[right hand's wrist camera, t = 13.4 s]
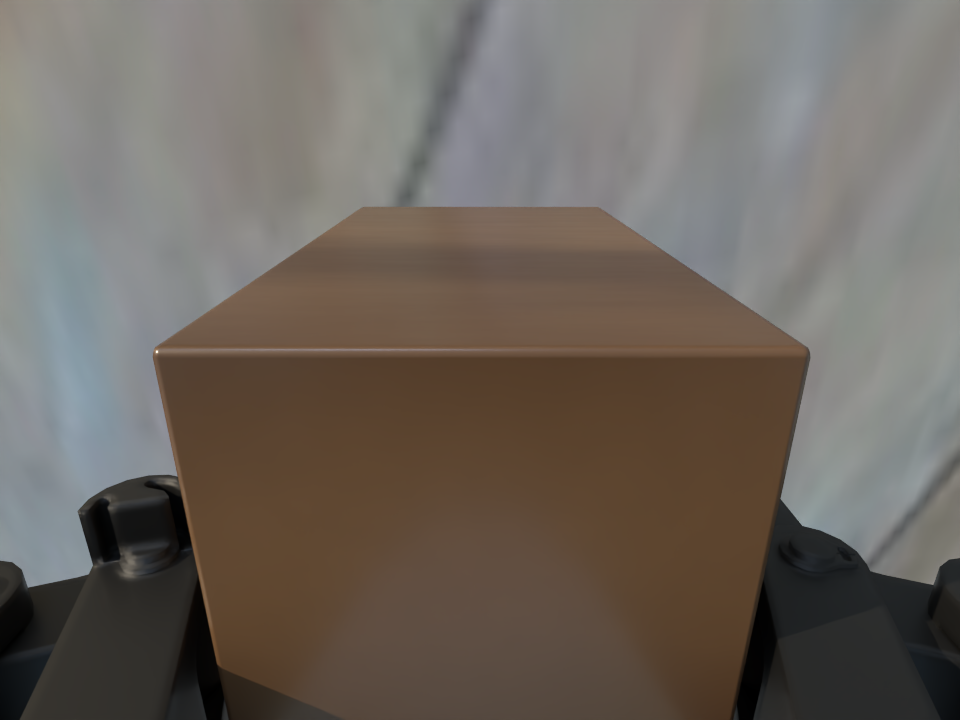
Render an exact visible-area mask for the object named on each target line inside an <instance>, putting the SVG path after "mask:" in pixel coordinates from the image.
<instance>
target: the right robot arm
mask: <svg viewBox="0 0 960 720" xmlns="http://www.w3.org/2000/svg"><path fill="white" fill-rule="evenodd" d="M78 514H79V517H80V521H81V524H82V528H83V531H84V535H85V538H86V542H87V545H88V549H89V552H90V556H91V559H92V563H93V567H92V569H91V571H90V573H89V575H85V576H81V577H78V578H73V579H68V580H63V581H58V582H53V583H49V584H44V585H39V586H34V587H29V588H28V587H27V584H26V581H25V578H24V575H23V572H22V570H21V569H20V568H19V567H18V566H16V565H15V564H14V563H12V562H5V561H0V720H229V719H228V714H227V709H226V704H225V700H224V695H223V690H222V685H221V680H220V676H219V671H218V666H217V661H216V657H215V652H214V647H213V642H212V637H211V633H210V628H209V623H208V618H207V614H206V609H205V604H204V599H203V594H202V590H201V585H200V580H199V575H198V571H197V566H196V561H195V556H194V551H193V547H192V542H191V537H190V532H189V527H188V523H187V518H186V513H185V508H184V504H183V499H182V494H181V489H180V484H179V480H178V477H176V476H172V475H151V476H145V477H140V478H135V479H131V480H127V481H124V482H121V483H119V484H116V485H114V486H111V487H109V488H106V489H105V490H103V491H101V492H100V493H98V494H96V495H95V496H93V497H92V498H90V499H88V501H87V502H86V503H85V504H84V505H83V506H82V507H81V508H80V509H79V510H78ZM733 720H960V558H959V559H951V560H948V561H947V562H946V563H944V564H943V565H942V566H940V568H939V571H938V574H937V577H936V580H935V583H934V585H930V584H925V583H920V582H915V581H910V580H906V579H901V578H896V577H891V576H886V575H882V574H878V573H874V572H871V571H870V570H869V568H868V566H867V564H866V563H865V561H864V560H863V559H862V558H861V556H860V555H859V554H858V552H857V551H855V550H854V549H853V548H851V547H850V546H848V545H847V544H846V543H844V542H843V541H841V540H840V539H838V538H836V537H833V536H831V535H829V534H827V533H824V532H822V531H820V530H816V529H812V528H808V527H804V526H802V525H801V524H800V523H799V521H798V520H797V519H796V518H795V516H794V515H793V514H792V513H791V512H790V510H789V509H788V508H787V507H786V505H785V504H784V503H783V502H782V500H781V499H780V503H779V507H778V512H777V517H776V521H775V526H774V531H773V535H772V540H771V545H770V550H769V554H768V559H767V564H766V568H765V573H764V578H763V583H762V587H761V592H760V597H759V601H758V606H757V611H756V615H755V620H754V625H753V630H752V634H751V639H750V644H749V648H748V653H747V658H746V663H745V667H744V672H743V677H742V681H741V686H740V691H739V695H738V700H737V705H736V710H735V714H734V719H733Z"/></svg>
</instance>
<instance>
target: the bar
mask: <svg viewBox="0 0 960 720" xmlns="http://www.w3.org/2000/svg"><path fill="white" fill-rule="evenodd" d="M153 360H154V365H155V370H156V375H157V379H158V384H159V389H160V394H161V398H162V403H163V408H164V413H165V418H166V422H167V427H168V432H169V437H170V441H171V446H172V451H173V456H174V461H175V465H176V470H177V475H178V480H179V484H180V489H181V494H182V499H183V504H184V508H185V513H186V518H187V523H188V527H189V532H190V537H191V542H192V547H193V551H194V556H195V561H196V566H197V571H198V575H199V580H200V585H201V590H202V594H203V599H204V604H205V609H206V614H207V618H208V623H209V628H210V633H211V637H212V642H213V647H214V652H215V657H216V661H217V666H218V671H219V676H220V680H221V685H222V690H223V695H224V700H225V704H226V709H227V714H228V719H229V720H733V719H734V714H735V710H736V705H737V700H738V695H739V691H740V686H741V681H742V677H743V672H744V667H745V663H746V658H747V653H748V648H749V644H750V639H751V634H752V630H753V625H754V620H755V615H756V611H757V606H758V601H759V597H760V592H761V587H762V583H763V578H764V573H765V568H766V564H767V559H768V554H769V550H770V545H771V540H772V535H773V531H774V526H775V521H776V517H777V512H778V507H779V503H780V498H781V493H782V488H783V484H784V479H785V474H786V470H787V465H788V460H789V455H790V451H791V446H792V441H793V437H794V432H795V427H796V423H797V418H798V413H799V408H800V404H801V399H802V394H803V390H804V385H805V380H806V375H807V371H808V366H809V361H810V352H809V349H808V348H807V347H806V346H805V345H803V344H802V343H800V342H799V341H797V340H796V339H794V338H793V337H791V336H790V335H788V334H787V333H785V332H784V331H782V330H781V329H779V328H778V327H776V326H775V325H773V324H772V323H770V322H769V321H767V320H766V319H764V318H763V317H761V316H760V315H758V314H757V313H755V312H754V311H752V310H751V309H749V308H748V307H746V306H745V305H743V304H742V303H741V302H739V301H738V300H736V299H735V298H733V297H732V296H730V295H729V294H727V293H726V292H724V291H723V290H721V289H720V288H718V287H717V286H715V285H714V284H712V283H711V282H709V281H708V280H706V279H705V278H703V277H702V276H700V275H699V274H697V273H696V272H694V271H693V270H691V269H690V268H688V267H687V266H685V265H684V264H682V263H681V262H679V261H678V260H677V259H675V258H674V257H672V256H671V255H669V254H668V253H666V252H665V251H663V250H662V249H660V248H659V247H657V246H656V245H654V244H653V243H651V242H650V241H648V240H647V239H645V238H644V237H642V236H641V235H639V234H638V233H636V232H635V231H633V230H632V229H630V228H629V227H627V226H626V225H624V224H623V223H621V222H620V221H618V220H617V219H615V218H614V217H612V216H611V215H610V214H608V213H607V212H605V211H604V210H602V209H601V208H598V207H363V208H361V209H359V210H358V211H356V212H355V213H353V214H352V215H350V216H349V217H347V218H346V219H344V220H343V221H341V222H340V223H338V224H337V225H335V226H334V227H332V228H331V229H330V230H328V231H327V232H325V233H324V234H322V235H321V236H319V237H318V238H316V239H315V240H313V241H312V242H310V243H309V244H307V245H306V246H304V247H303V248H301V249H300V250H298V251H297V252H296V253H294V254H293V255H291V256H290V257H288V258H287V259H285V260H284V261H282V262H281V263H279V264H278V265H276V266H275V267H273V268H272V269H270V270H269V271H267V272H266V273H264V274H263V275H262V276H260V277H259V278H257V279H256V280H254V281H253V282H251V283H250V284H248V285H247V286H245V287H244V288H242V289H241V290H239V291H238V292H236V293H235V294H233V295H232V296H230V297H229V298H228V299H226V300H225V301H223V302H222V303H220V304H219V305H217V306H216V307H214V308H213V309H211V310H210V311H208V312H207V313H205V314H204V315H202V316H201V317H199V318H198V319H196V320H195V321H194V322H192V323H191V324H189V325H188V326H186V327H185V328H183V329H182V330H180V331H179V332H177V333H176V334H174V335H173V336H171V337H170V338H168V339H167V340H165V341H164V342H162V343H161V344H159V345H158V346H157V347H155V349H154V353H153Z"/></svg>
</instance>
